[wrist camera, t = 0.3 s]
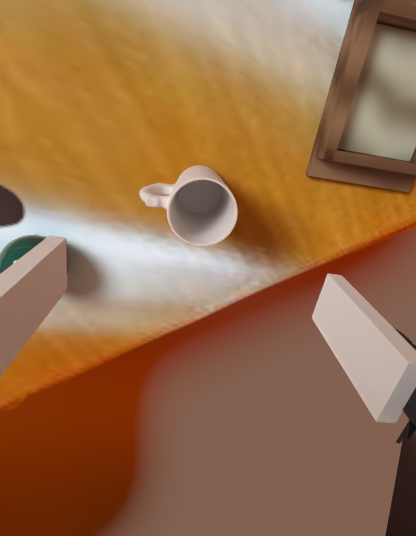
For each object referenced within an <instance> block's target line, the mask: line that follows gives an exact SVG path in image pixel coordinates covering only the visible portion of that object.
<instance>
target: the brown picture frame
mask: <svg viewBox="0 0 416 536" xmlns="http://www.w3.org/2000/svg"><path fill="white" fill-rule="evenodd" d="M306 175H308V176H312V177H318V178H325V179H331V180H337V181H343V182H349V183H355V184H361V185H367V186H373V187H379V188H385V189H391V190H397V191H403V192H409V190H410V188H411V186H412V183H413V181H414V179H415V176H416V0H355V1H354V4H353V8H352V11H351V15H350V18H349V22H348V26H347V29H346V33H345V36H344V40H343V43H342V47H341V50H340V54H339V58H338V61H337V65H336V68H335V72H334V75H333V79H332V82H331V86H330V90H329V93H328V97H327V100H326V104H325V107H324V111H323V114H322V118H321V122H320V125H319V129H318V132H317V136H316V139H315V143H314V147H313V150H312V154H311V157H310V161H309V164H308V168H307V171H306Z"/></svg>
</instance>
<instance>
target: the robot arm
mask: <svg viewBox="0 0 416 536" xmlns="http://www.w3.org/2000/svg"><path fill="white" fill-rule="evenodd" d="M66 290H67V260H66V238H62V237H55V236H48V237H47V238H46V239H44V240H43V241H42V242H40V243H39V244H38V245H37V246H35V247H34V248H33V249H31V250H30V251H29V252H28V253H26V254H25V255H24V256H23V257H21V258H20V259H19V260H17V261H16V262H15V263H14V264H12V265H11V266H10V267H9V268H7V269H6V270H5V271H3V272H2V273H1V274H0V377H1V376H2V375H3V373H4V372H5V371H6V369H7V368H8V367H9V365H10V364H11V363H12V361H13V360H14V359H15V357H16V356H17V355H18V353H19V352H20V351H21V349H22V348H23V347H24V345H25V344H26V343H27V341H28V340H29V339H30V338H31V336H32V335H33V334H34V332H35V331H36V330H37V328H38V327H39V326H40V324H41V323H42V322H43V320H44V319H45V318H46V316H47V315H48V314H49V312H50V311H51V310H52V308H53V307H54V306H55V304H56V303H57V302H58V300H59V299H60V298H61V296H62V295H63V294H64V292H65V291H66ZM312 319H313V321H314V322H315V324H316V325H317V327H318V329H319V330H320V332H321V333H322V335H323V337H324V338H325V340H326V342H327V343H328V344H329V346H330V348H331V350H332V351H333V353H334V354H335V356H336V358H337V359H338V361H339V362H340V364H341V366H342V367H343V369H344V371H345V372H346V374H347V375H348V377H349V379H350V380H351V382H352V383H353V385H354V387H355V388H356V390H357V392H358V393H359V395H360V396H361V398H362V400H363V401H364V403H365V404H366V406H367V407H368V409H369V411H370V412H371V414H372V416H373V417H374V419H375V420H376V422H387V423H396V422H397V420H398V418H399V417H400V415H401V413H402V412H403V411H404V413H405V414H406V415H407V417H408V418H409V419H410V420H409V422H408V423H407V425H406V427H405V428H404V430H403V432H402V433H401V435H400V436H399V438H398V440H397V441H396V442H397V443H400V442H401V441H402V447H401V453H400V459H399V464H398V469H397V475H396V480H395V486H394V491H393V497H392V503H391V508H390V514H389V519H388V525H387V530H386V536H416V346H415V345H414V344H412V342H411V341H410V340H409V339H408V338H407V337H406V336H405V335H404V334H402V333H401V332H400V331H398V330H397V329H395V328H394V327H392V326H391V325H390V324H389V323H388V322H387V321H386V320H385V319H384V318H383V317H382V316H381V315H380V314H379V313H378V312H377V311H376V310H375V309H374V308H373V307H372V306H371V305H370V304H369V303H368V302H367V301H366V300H365V299H364V298H363V297H362V296H361V295H360V294H359V293H358V292H357V291H356V290H355V289H354V288H353V287H352V286H351V285H350V283H349V282H347V280H346V279H344V277H342V276H341V275H335V274H327V277H326V280H325V282H324V285H323V288H322V291H321V293H320V296H319V299H318V302H317V304H316V307H315V310H314V313H313V315H312Z"/></svg>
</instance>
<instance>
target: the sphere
mask: <svg viewBox="0 0 416 536" xmlns="http://www.w3.org/2000/svg"><path fill="white" fill-rule="evenodd" d="M46 238H47V237H44V236H39V235H27V236H22V237H19V238H17V239H15V240H13V241H11V242H10V243H9V244H8V245H7V246H5V247H4V248H3V250H2V251H1V253H0V274H1V273H2V272H3V271H5V270H6V269H7V268H9V267H10V266H11V265H12V264H14V263H15V262H16V261H17V260H19V259H20V258H21V257H23V256H24V255H25V254H26V253H28V252H29V251H30V250H31V249H33V248H34V247H35V246H37V245H38V244H39V243H40V242H42V241H43V240H44V239H46ZM66 260H67V275H68V270H69V262H68V258H67V255H66Z"/></svg>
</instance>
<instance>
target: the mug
mask: <svg viewBox="0 0 416 536" xmlns="http://www.w3.org/2000/svg"><path fill="white" fill-rule="evenodd" d="M159 195H166V196H159ZM140 197H141V199H142V200H143V201H144V202H145V203H146V206H148V207H161V208H164V209H166V210H167V218H168V222H169V225H170V227H171V229H172V230H173V232H174V233H175V234H176V236H177V237H179V238H180V239H181V240H182V241H184V242H186V243H188V244H191V245H194V246H210V245H214V244H217V243H219V242H221V241H222V240H224V239H225V238H226V237H227V236H228V235H229V234H230V233H231V231H232V230H233V228H234V226H235V224H236V221H237V217H238V208H237V203H236V200H235V198H234V196H233V194H232V192H231V191H230V189H229V188H228V187H227V185H226V184H225V183H224V181H223V180H222V179H221V177H220V176H219V175H218V174H217V173H216V172H215V171H214V170H213V169H211V168H209V167H206V166H193V167H190V168H188V169H186V170H185V171H184V172H183V173H182V174H181V175H180V176H179V178H178V180H177V182H176V183H175V184H172V185H171V184H164V183H156V184H152V185H149V186H146V187H144V188H142V189H141V190H140Z"/></svg>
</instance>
